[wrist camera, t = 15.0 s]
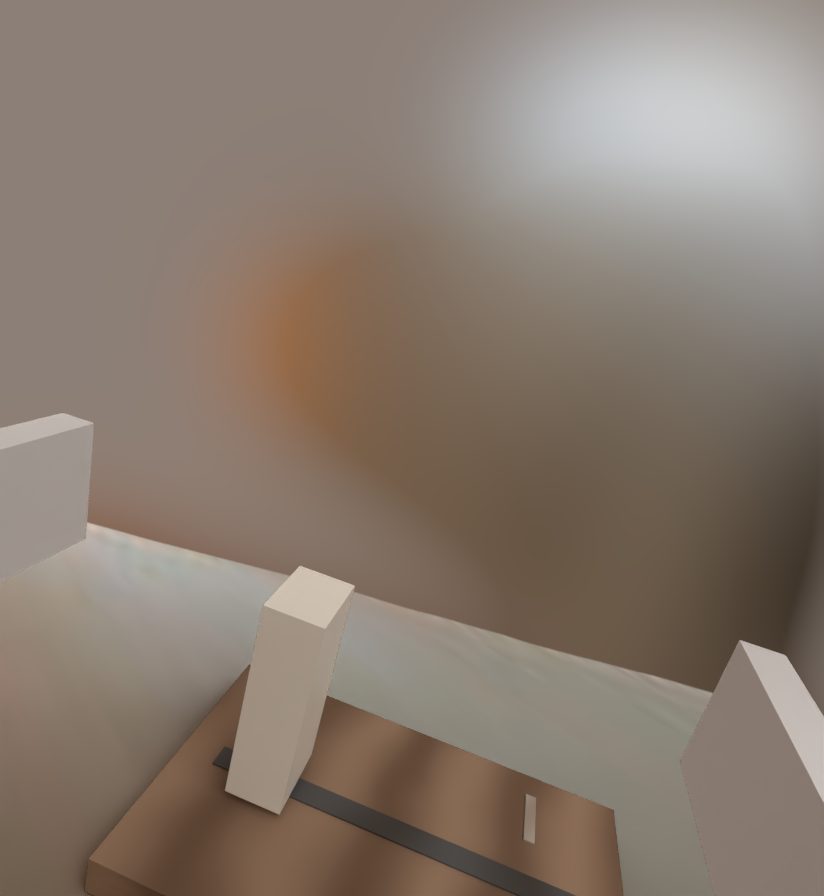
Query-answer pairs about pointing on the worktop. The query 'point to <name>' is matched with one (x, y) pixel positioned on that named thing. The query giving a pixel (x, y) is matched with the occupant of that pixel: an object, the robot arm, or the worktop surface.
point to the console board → (356, 823)
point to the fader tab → (287, 686)
